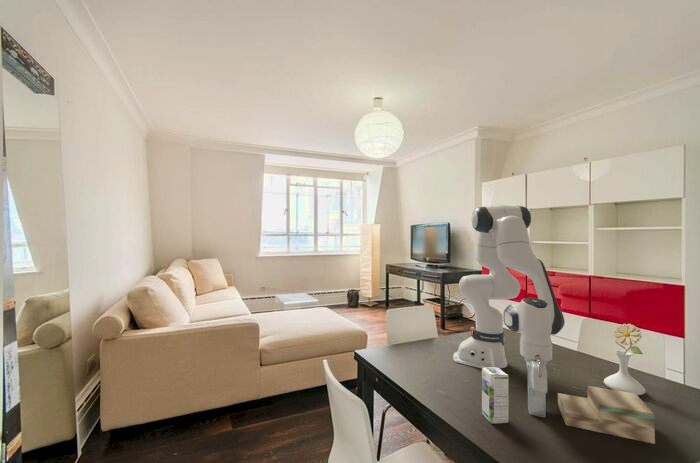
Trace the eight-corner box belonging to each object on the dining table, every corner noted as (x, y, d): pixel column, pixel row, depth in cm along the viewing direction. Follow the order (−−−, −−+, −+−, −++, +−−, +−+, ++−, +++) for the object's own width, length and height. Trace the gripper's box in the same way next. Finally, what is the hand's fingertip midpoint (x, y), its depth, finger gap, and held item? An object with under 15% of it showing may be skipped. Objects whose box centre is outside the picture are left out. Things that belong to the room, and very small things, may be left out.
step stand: (566, 425, 91) (565, 398, 91) (557, 405, 102) (557, 380, 102) (655, 444, 83) (654, 414, 83) (636, 420, 94) (635, 393, 94)
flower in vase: (595, 383, 118) (594, 317, 118) (626, 383, 118) (625, 317, 118) (625, 401, 105) (623, 327, 105) (659, 401, 104) (658, 327, 105)
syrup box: (481, 413, 97) (480, 367, 98) (498, 412, 98) (498, 366, 98) (490, 424, 92) (490, 375, 92) (509, 423, 92) (509, 374, 93)
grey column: (529, 414, 97) (528, 369, 97) (527, 407, 101) (527, 364, 101) (545, 417, 95) (545, 372, 95) (543, 410, 99) (543, 366, 99)
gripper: (553, 364, 88) (553, 413, 87) (542, 342, 106) (543, 382, 106) (527, 360, 90) (528, 408, 90) (521, 339, 109) (522, 379, 109)
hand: (536, 394), depth 98 cm, fingers open, 8 cm apart
